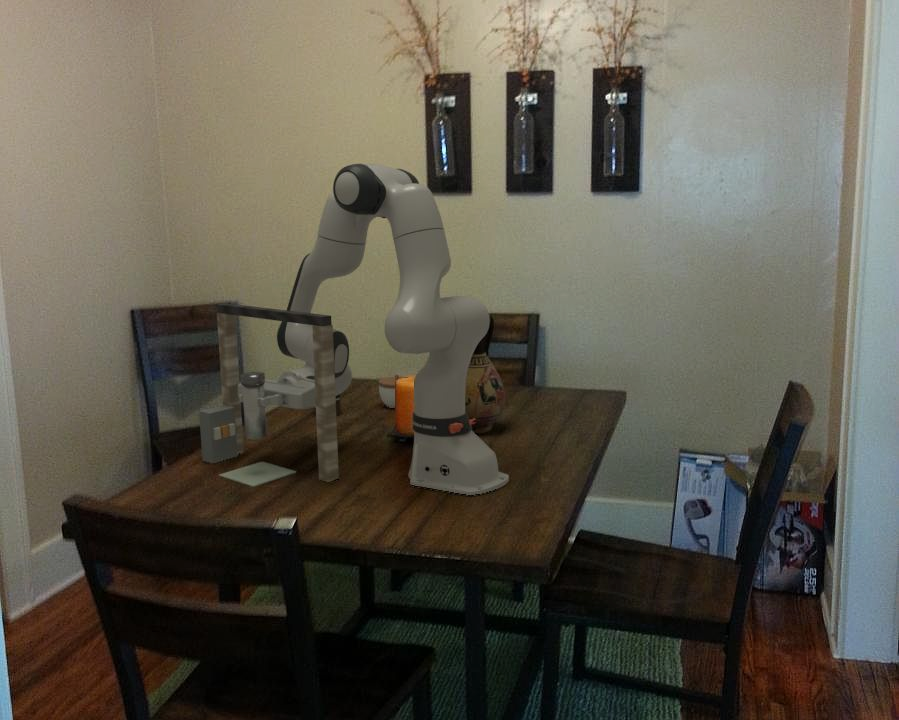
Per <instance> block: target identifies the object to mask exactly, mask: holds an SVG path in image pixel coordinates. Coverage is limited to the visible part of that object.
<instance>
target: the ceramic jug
mask: <svg viewBox="0 0 899 720" xmlns="http://www.w3.org/2000/svg"><path fill="white" fill-rule="evenodd" d="M489 318H490V323H489V329H488V331H487V333H486V335H485V336H484V337H483V338H482V339H481V340H480V342H479V343H478V345H477V346H476V348H475V350H474V353H473V355H472V358H471V360H470V363H469V367H468V371H467V376H466V389H465V411H466V412H467V414H468V417H469V420H470V419H473V418H476V419H475V420H474V421H473V422H476V423H474V424H471V426H472V431H473V432H474V433H479V434H485V433H487V432H490V431H491V430H492V428H493V426H494V424H495V422H496V421H497V420H498V419H499V417H501V415H502V413H503V411H504V409H505V405H506V393H505V389H504V384H503V381H502V379H501V377H500V375H499V373H498V371H497V369H496V368H495V365H494V364H493V363H492V361H491V359H490V358H489V355H490V354H489V352H490V351H489V349H490V348H491V347H490V346H491V342H492V338H493V333H494V328H495V326H494V325H495V323H494V322H495V321H494V320H495V319H494V317H493V316H492V315H490V314H489Z"/></svg>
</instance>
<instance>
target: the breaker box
mask: <svg viewBox="0 0 899 720" xmlns="http://www.w3.org/2000/svg"><path fill="white" fill-rule="evenodd" d="M198 415H199V427H200V428H199V429H200V442H201V443H200V444H201V458H202V461H203V462H205V461H206V462H205V463H208V462H209V463H208V464H212V463H214V464H217V462H218V463H220V461H221V462H224V461H227V460H226V459H228V460H230V458H231V459H234V458H233V457H235V458H238V457H237V456H238V455H239V454H237V439H236V423H235V408H234V407H230V406H226V405H223V404H221V405H219V406H214V407H211V408H205V409H201V410H199V411H198ZM223 460H224V461H223Z"/></svg>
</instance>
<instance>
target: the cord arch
mask: <svg viewBox="0 0 899 720" xmlns="http://www.w3.org/2000/svg"><path fill="white" fill-rule="evenodd" d="M216 305H217V312H216V319H217V320H216V321H217V336H218V337H217V338H218V351H219V368H220V380H221V381H220V383H221V396H222V405H226V406H230V407H234V408H235V423H236V439H237V455H239V453H240V454H243V452H244V453H245V450H244V446H245V445H244V434H243V418H242V417H243V416H242V402H240V401H239V397H238V384H239V383H241V380H240V369H239V368H240V366H239V365H240V364H239V350H238V335H237V319H236V317H237V316H239V317H248V318H253V319H254V318H255V319H261V320H270V321H277V322H278V321H279V322H282V321H284V322H291V323H299V324H307V325H312V331H313V353H314V376H315V398H316V415H315V417H316V419H315V420H316V421H315V422H316V438H317V441H316V443H317V458H318V459H317V462H318V481H320V480H323V481H327V482H329V481H332V480H334V479H337V478H339V479H340V475H339V452H338V451H339V450H338V428H337V425H338V424H337V416H336V396H335V371H334V347H333V329H334V327H333V326H334V325H333V324H332V323H333V322H332V315H327V314H319V313H312V312H311V313H304V312H296V311H287V309H285V310H284V309H279V308H278V309H276V308H271V307H270V308H269V307H260V306H252V305H250V306H249V305H243V304H236V303H235V304H234V303H226V302H225V303H218V304H216ZM323 481H322V482H323ZM327 482H326V483H327Z"/></svg>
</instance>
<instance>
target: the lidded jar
mask: <svg viewBox="0 0 899 720" xmlns="http://www.w3.org/2000/svg"><path fill="white" fill-rule="evenodd" d="M408 377H409V376H400V375H399V374H395V375H394V376H389V377H383V378H380V379H379V380H377V381H378V382H377V383H378V392H379V397H380V399H381V401H382V403H383V404H384V405H385V406H386V408H388V407H389V408H388V409H390V408H394V407H395V381H396V380H398V379H401V378H408Z"/></svg>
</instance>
